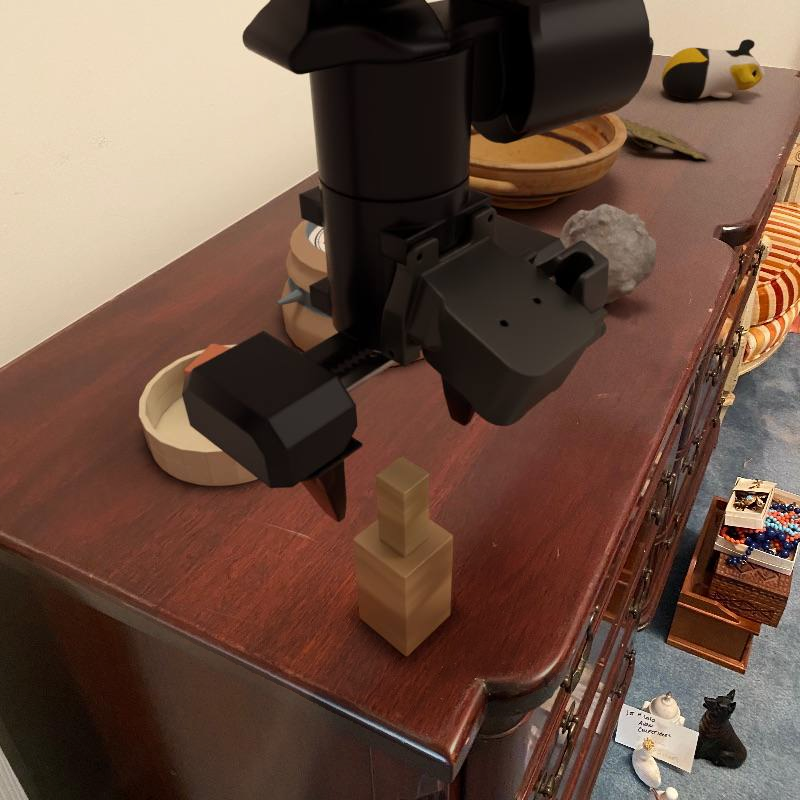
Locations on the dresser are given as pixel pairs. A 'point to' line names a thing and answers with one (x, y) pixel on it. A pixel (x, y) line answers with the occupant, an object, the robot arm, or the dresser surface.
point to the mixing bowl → (183, 433)
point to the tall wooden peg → (403, 505)
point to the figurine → (711, 72)
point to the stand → (404, 586)
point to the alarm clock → (306, 288)
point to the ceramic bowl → (545, 162)
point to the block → (206, 356)
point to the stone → (615, 245)
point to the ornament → (653, 135)
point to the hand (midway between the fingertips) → (401, 465)
